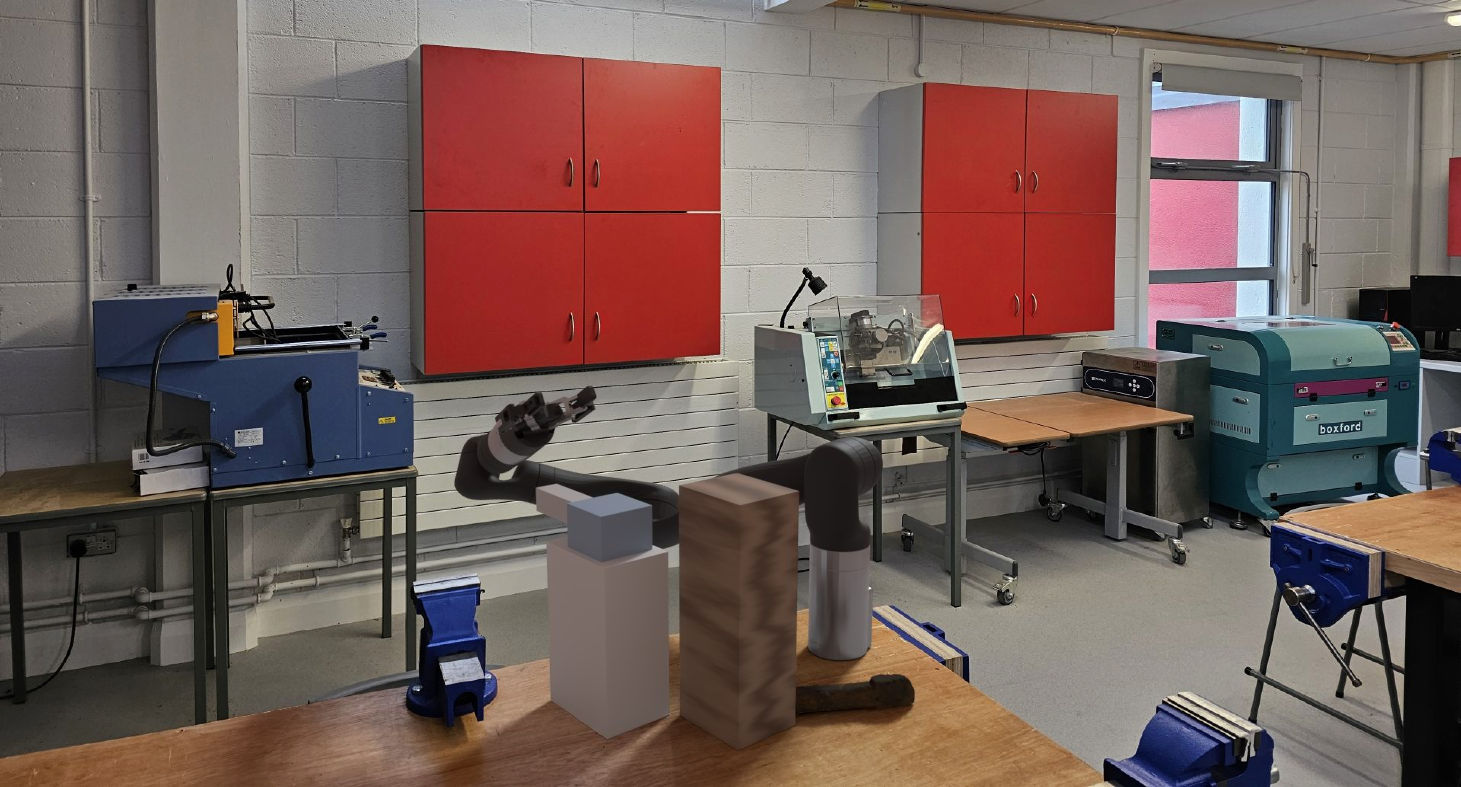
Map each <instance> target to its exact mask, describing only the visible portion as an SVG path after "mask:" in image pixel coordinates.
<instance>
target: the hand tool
mask: <svg viewBox="0 0 1461 787" xmlns="http://www.w3.org/2000/svg"><path fill="white" fill-rule="evenodd" d="M915 698H916V691H915V688H914V687H913V684H912V682H911V680H910V678H908V677H907V676H906V675H904V674H899V673H892V674H886V673H885V674H882V673H881V674H875V675H872V676H871V677H870V679H869V681H867V680H866V681H858V682H850V683H849V682H847V683H846V682H845V683H837V684H836V683H834V684H833V683H832V684H823V685H818V684H817V685H816V684H814V685H806V686H804V685H799V686H796V702H795V717H797V716H798V715H799V714H801V713H804V714H805V713H813V712H814V713H815V712H824V711H836V710H837V711H838V710H850V709H859V708H872V709H873V710H875V711H878V712H879V711H880V712H881V711H889V710H893V709H897V708H898V709H899V708H903V707H906V706H909V705H912V704H914V703H915Z"/></svg>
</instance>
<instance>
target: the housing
mask: <svg viewBox="0 0 1461 787" xmlns="http://www.w3.org/2000/svg"><path fill="white" fill-rule="evenodd" d="M535 509H536V512H538V513H541V514H543V515H546V516H547V517H550V518H553V519H555V520H557V521H559V522H561V523H564V524H566V525H567V526H566V527H567V536H568V547H569V548H571V549H574V550H576V551H578V552H580V553H582V554H584V555H587V556H589V557H591V558H593V559H595V560H598V561H600V562H605V561H609V560H613V559H617V558H621V557H625V556H628V555H632V554H636V553H640V552H644V551H648V550H652V505H650V504H647V503H644V502H641V501H639V500H636V499H633V498H630V497H627V496H625V495H622V494H619V493H614V494H609V495H604V496H599V497H595V498H593V497H590V496H587V495H585V494H582V493H580V492H577V491H574V490H572V489H569V488H566V487H564V486H561V485H558V484H553V485H548V486H543V487H537V488H536V507H535Z"/></svg>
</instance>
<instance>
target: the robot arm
mask: <svg viewBox="0 0 1461 787" xmlns="http://www.w3.org/2000/svg"><path fill="white" fill-rule="evenodd" d="M597 398H598V396H597V393H596V390H595V388H594V386H593V385H586V386H585V387H584V388H583V389H581V391H579V392H578V393H577V394H576V395H574V396H570V397H567V396H562V397H560V398H557V399H554V400H553V401H546V402H545V397H544V395H543V392H542V391H536V392H535V393H533V394H531V396H530V397H529V398H528V399H526V400H521V401H520V402H519V403H518V404H516V405H515V403H509V404H507V405H505V407H504V408H503V409H502V410H501V411H500V412H499V413H498V414H497V415H496V416H495V417H494V421H495V424H494V426H493V427H492V429H491V430H490V431H488V432H487V433H484V434H480V435H475V436H471V437H469V438H468V439H467V440H466V441H465V443H464V445H463V447H462V449H461V452H460V456H459V460H458V464H457V470H456V472H455V477H454V480H453V481H454V482H453V483H454V484H453V485H454V486H453V487H454V488H455V490H456V491H457V493H458V494H459V495H461V496H462V497H464V498H466V499H468V500H473V501H489V500H490V501H493V500H494V501H496V500H497V501H500V500H501V501H502V500H503V501H519V502H523V503H527V504H530V505H531V504H532V505H536V488H537V487H543V486H548V485H553V484H558V485H561V486H564V487H566V488H569V489H572V490H574V491H577V492H580V493H582V494H585V495H587V496H590V497H593V498H595V497H599V496H604V495H609V494H614V493H619V494H622V495H625V496H627V497H630V498H633V499H636V500H639V501H641V502H644V503H647V504H650V505H652V545H653V546H656V547H658V548H661V549H663V550H665V549H669V548H672V547H675V546H679V492H677V491H675V490H674V488H673V489H672V488H671V487H668V486H666V485H663V484H658V483H654V482H650V481H649V482H648V481H643V480H634V479H627V478H621V477H614V476H613V477H612V476H603V475H597V474H596V475H594V474H589V473H588V474H587V473H582V472H576V471H571V470H566V469H563V468H559V467H556V466H552V465H548V464H544V463H541V462H537V461H535V460H534V461H533V460H530V458H531V457H532V456H533V455H535V454H536V453H538V452H539V451H540V450H541V449H542V448H544V447H545V446H546V445H548V444H549V443H550V442H551V440H552V439H553V437H554V435H555V431H556V428H558V427H559V426H560V425H562V424H564V423H566V422H569V421H571V423H572V424H574V423H575V424H577V423H579V422H580V421H581V420H582V419H585V417H586V416H588V415H590V414H591V413H593V412H594V411H595V410H596V406H595V403H594V401H595V400H596V399H597ZM562 404H563V406H564V408H565V411H564V410H563V408H562V407H561V406H560V405H562ZM528 459H529V460H528ZM513 469H514V472H513V473H512V476H511V477H510V478H509V479H500V476H501V475H503V474H505V473H509V472H510V471H512V470H513ZM883 470H884V460H883V457H882V454H881V452H880V450H879V449H878V448H877V447H876V446H875V445H874V444H873V443H872V442H870V441H869V440H867V439H864V438H862V437H856V436H845V437H841V438H837V439H834V440H832V441H829V442H824V443H823V444H820V445H818V446H817V447H815V448H813V450H811V452H809V453H806V454H802V455H800V456H796V457H791V458H782V459H778V460H777V459H776V460H772V461H771V460H770V461H766V462H761V463H756V464H751V465H746V466H742V467H739V468H735V469H732V470H729V471H725V472H722V473H720V474H717V475H716V476H714V477H713V478H716V477H721V476H725V475H730V474H735V473H739V474H742V475H745V476H749V477H752V478H756V479H759V480H763V481H766V482H770V483H773V484H776V485H780V486H783V487H787V488H790V489H794V490H797V491H799V506H801V505H803V504H804V519H805V523H806V526H807V529H808V532H809V570H808V571H809V573H808V574H809V580H808V622H807V623H808V627H807V629H808V630H807V631H808V633H807V649H808V650H809V652H810V653H811V654H813V655H815V656H817V657H819V658H823V659H826V660H833V661H850V660H855V659H858V658H861V657H863V656H864V655H865V654H866V653H867V652H868V649H869V648H870V647H872V642H873V640H872V639H873V638H872V637H873V635H872V634H873V610H874V608H873V607H874V606H873V605H874V604H873V602H874V590H873V588H872V587H871V586H870V569H871V565H870V564H871V539H872V538H871V536H872V534H871V533H872V532H871V527H870V525H869V524H868V523H867V522H866V521H865V520H864V521H863V520H862V519H860V513H859V512H860V511H859V509H860V506H859V502H860V501H859V497H860V496H862V495H864V494H866V493H868V492H869V491H871V490H872V488H874V487H875V486H876V485H877V483H879V480H880V479H881V476H882V474H883Z"/></svg>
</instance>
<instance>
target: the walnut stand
mask: <svg viewBox="0 0 1461 787" xmlns="http://www.w3.org/2000/svg"><path fill="white" fill-rule="evenodd" d="M715 477H716V476H715ZM678 495H679V544H678V582H679V583H678V585H679V586H678V592H679V594H678V598H679V599H678V601H679V602H678V608H679V609H678V616H679V619H678V620H679V621H678V622H679V623H678V624H679V625H678V628H679V629H678V630H679V636H678V638H679V640H678V641H679V646H678V648H679V656H678V657H679V661H678V662H679V716H680V717H682V718H684V719H685V720H687V721H688V722H690V723H692V724H694V725H695V726H697V727H698V728H700V729H702V730H703V731H705V732H707V733H709V734H710V735H711V736H714V737H715V738H717V739H718V740H721V741H722V742H723V743H725V744H727V745H728V746H730V747H732V748H733V749H735V750H737V751H740V750H742V749H744V748H747V747H750V746H751V745H754V744H756V743H758V742H760V741H763V740H765V739H767V738H770V737H772V736H773V735H776V734H779V733H781V732H783V731H786V730H787V729H789V728H792V727H794V726H796V716H795V702H796V687H797V638H798V636H797V635H798V634H797V631H798V628H797V627H798V587H799V586H798V584H799V582H798V577H799V575H798V574H799V526H800V525H799V518H800V516H799V515H800V514H799V513H800V505H799V491H797V490H794V489H790V488H787V487H783V486H780V485H776V484H773V483H770V482H766V481H763V480H759V479H756V478H752V477H749V476H745V475H742V474H739V473H735V474H730V475H725V476H721V477H716V478H714V477H712V478H707V479H702V480H698V481H693V482H688V483H684V484H679V485H678Z"/></svg>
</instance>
